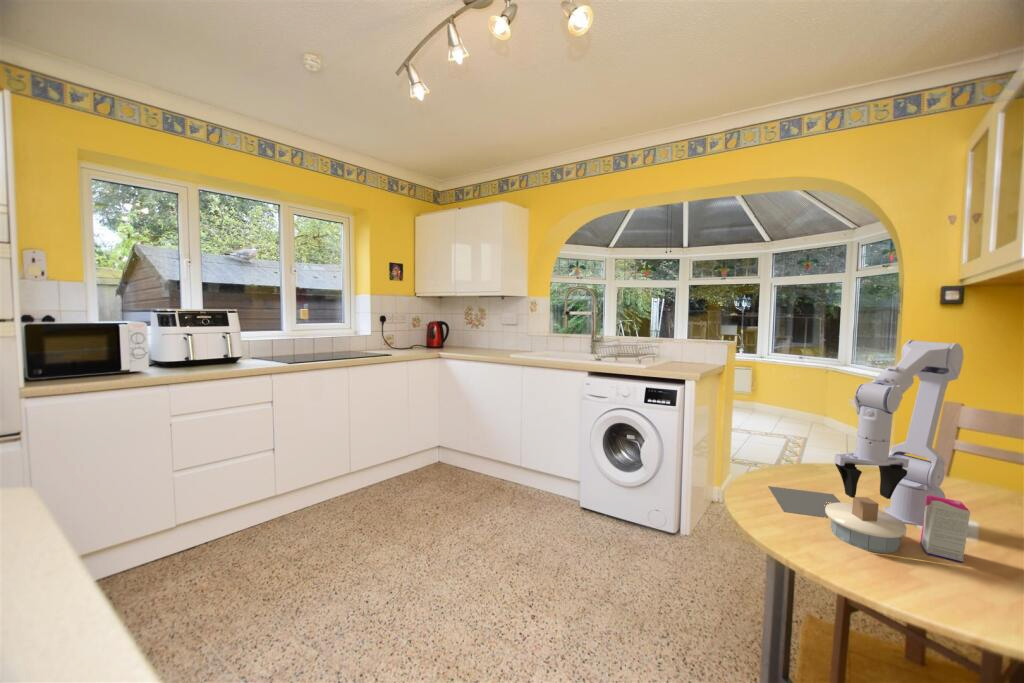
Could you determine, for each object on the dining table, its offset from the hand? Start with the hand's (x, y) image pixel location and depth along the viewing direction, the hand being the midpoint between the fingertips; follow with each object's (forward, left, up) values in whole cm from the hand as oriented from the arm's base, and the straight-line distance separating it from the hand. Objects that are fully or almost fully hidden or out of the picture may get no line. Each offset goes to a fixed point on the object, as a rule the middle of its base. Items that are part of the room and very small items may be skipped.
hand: (867, 496), depth 100 cm
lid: (0, 0, -6) cm, 6 cm away
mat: (+6, -16, -10) cm, 20 cm away
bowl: (0, 0, -10) cm, 10 cm away
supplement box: (-13, +2, -10) cm, 17 cm away
